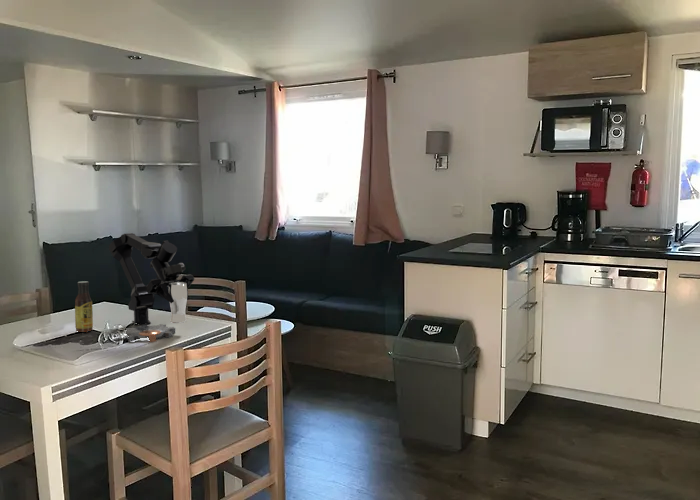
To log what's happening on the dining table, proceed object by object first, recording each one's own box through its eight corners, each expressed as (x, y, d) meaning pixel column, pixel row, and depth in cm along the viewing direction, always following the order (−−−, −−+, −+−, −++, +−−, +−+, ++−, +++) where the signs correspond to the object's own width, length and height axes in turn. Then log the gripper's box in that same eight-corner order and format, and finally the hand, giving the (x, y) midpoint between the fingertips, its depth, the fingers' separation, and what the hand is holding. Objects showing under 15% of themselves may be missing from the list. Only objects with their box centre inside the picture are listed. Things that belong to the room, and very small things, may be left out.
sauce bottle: (86, 334, 222) (83, 283, 219) (72, 333, 223) (69, 283, 221) (97, 329, 228) (94, 280, 226) (83, 329, 229) (80, 280, 227)
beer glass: (191, 320, 224) (190, 282, 222) (178, 324, 218) (177, 285, 216) (178, 318, 227) (177, 281, 225) (165, 322, 221) (164, 283, 219)
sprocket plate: (117, 332, 224) (116, 327, 224) (169, 326, 233) (169, 321, 233) (124, 345, 206) (123, 339, 206) (180, 338, 216) (180, 332, 216)
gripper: (149, 258, 215) (166, 291, 209) (191, 254, 229) (208, 285, 223) (138, 277, 220) (155, 309, 215) (180, 271, 235) (196, 301, 229)
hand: (179, 300), depth 220 cm, fingers closed on beer glass, 7 cm apart
